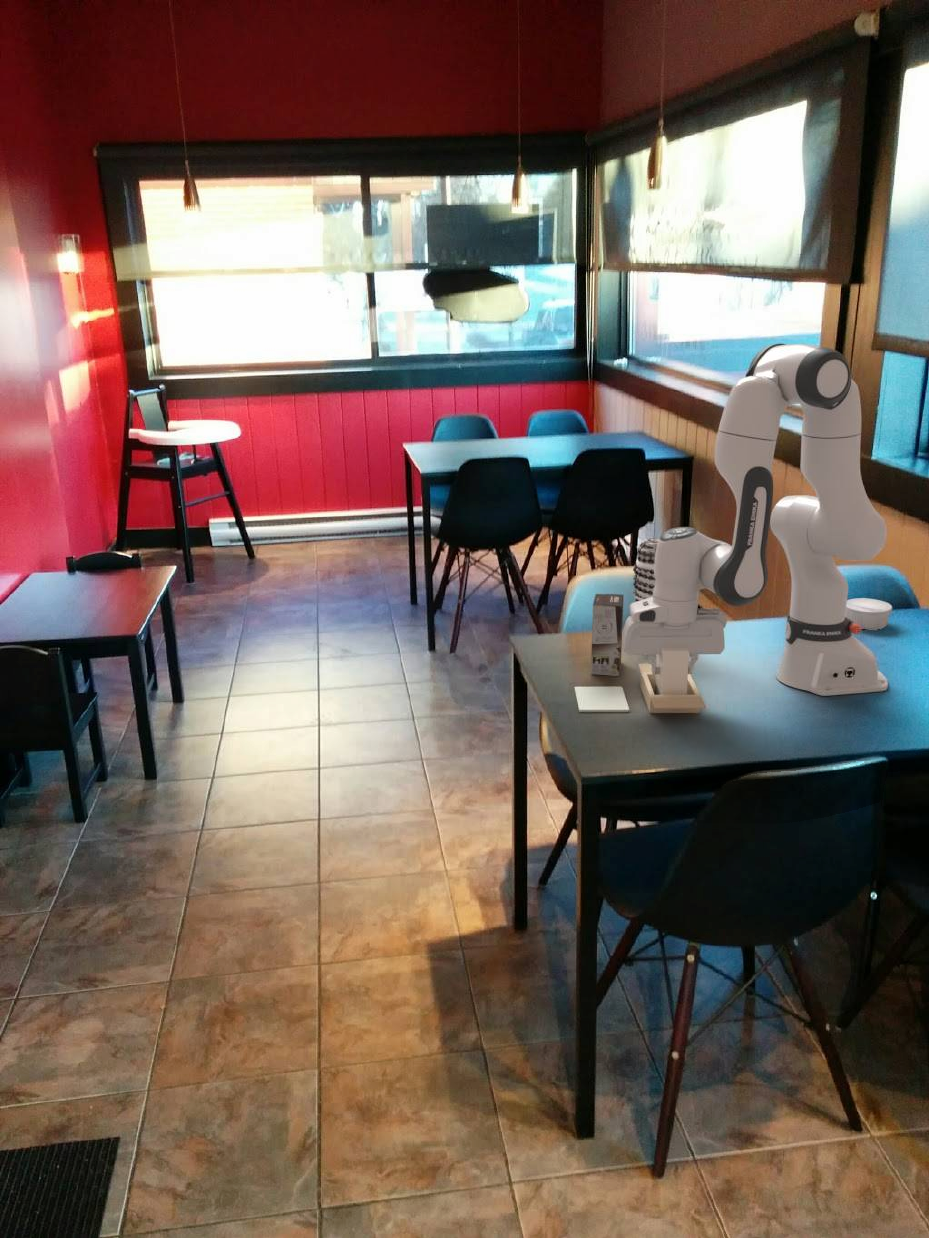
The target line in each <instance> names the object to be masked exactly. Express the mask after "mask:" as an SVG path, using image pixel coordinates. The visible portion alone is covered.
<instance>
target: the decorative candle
mask: <svg viewBox="0 0 929 1238" xmlns="http://www.w3.org/2000/svg"><path fill="white" fill-rule="evenodd" d="M658 540H659V538H646V539H643V540H642V541H641V542H640V544H638V545H637V546H636V549H637V557H636V558H637V559H636V561H635V563H634V564H633V566H634V567H633V570H632V571H633V573H634V575H633V580H634V582H633V584H632V585H633V589H634V590H633V597H634V598H635V602H637V601H641V600H644V599H647V598H650V597H653V591H654V588H655V584H656V580H655V575H654V565H655V554H656V548H657V543H658Z"/></svg>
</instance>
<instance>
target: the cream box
mask: <svg viewBox="0 0 929 1238" xmlns="http://www.w3.org/2000/svg"><path fill="white" fill-rule="evenodd" d="M689 660H690V654H689V650H688V648H687V647H662V654H661V655H656V657H655V661H656V662H655V664H659V666H660V674H656V679H655V690H654V694H655V695H687V679H688V662H689Z"/></svg>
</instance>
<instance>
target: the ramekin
mask: <svg viewBox="0 0 929 1238" xmlns="http://www.w3.org/2000/svg"><path fill="white" fill-rule="evenodd" d="M892 611H893V606H892V605H891V604H890V603H888V602H886V601H883V600H879V599H876V598H875V599H874V598H867V597H860V598H857V597H856V598H851V599H847V604H846V613H845V617H846V618H848V619H850V620H851V621H853V623H857V624H858V625H859V626H860V627H861V628H862V629H866V630H865V631H876V630H875V629H880V630H882V629H881V628H883V629H884V628H886V626H887V625H888V622H889V619H890V616H891V613H892ZM862 629H861V630H862ZM867 629H868V630H867Z"/></svg>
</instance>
